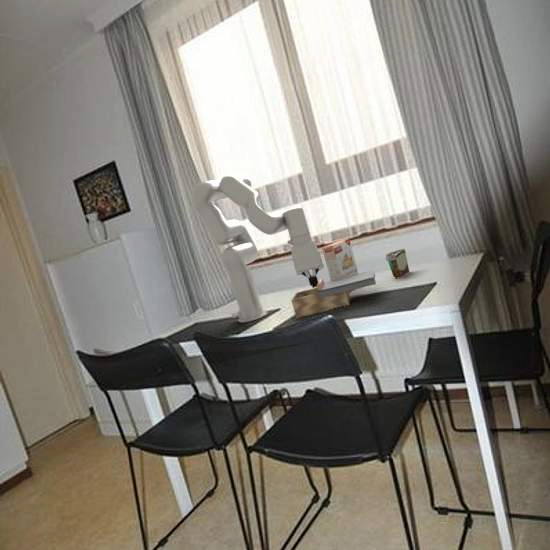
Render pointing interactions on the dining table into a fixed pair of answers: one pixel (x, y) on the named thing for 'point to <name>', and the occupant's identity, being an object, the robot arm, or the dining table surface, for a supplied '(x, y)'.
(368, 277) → the lid
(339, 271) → the cracker box
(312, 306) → the box
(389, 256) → the food container
